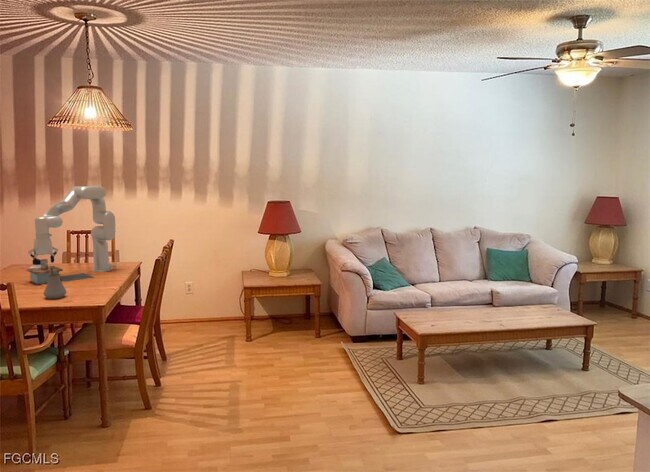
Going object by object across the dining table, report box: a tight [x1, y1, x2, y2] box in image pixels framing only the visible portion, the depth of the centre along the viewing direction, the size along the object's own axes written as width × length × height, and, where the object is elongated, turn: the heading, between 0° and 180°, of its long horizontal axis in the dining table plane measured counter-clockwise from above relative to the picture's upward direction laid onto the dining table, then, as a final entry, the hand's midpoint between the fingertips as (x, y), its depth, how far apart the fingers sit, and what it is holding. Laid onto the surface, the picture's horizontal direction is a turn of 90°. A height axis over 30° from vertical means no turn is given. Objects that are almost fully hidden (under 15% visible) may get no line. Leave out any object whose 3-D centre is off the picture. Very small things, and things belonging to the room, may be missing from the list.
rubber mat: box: [60, 273, 96, 282], centre depth 349 cm, size 19×19×1 cm
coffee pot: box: [43, 267, 67, 300], centre depth 300 cm, size 21×12×15 cm, turn 32°
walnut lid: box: [26, 258, 64, 274], centre depth 335 cm, size 16×16×7 cm
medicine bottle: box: [29, 258, 42, 269], centre depth 349 cm, size 7×7×12 cm
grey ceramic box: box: [29, 271, 60, 286], centre depth 335 cm, size 13×13×7 cm
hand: (44, 263), depth 334 cm, fingers open, 9 cm apart
